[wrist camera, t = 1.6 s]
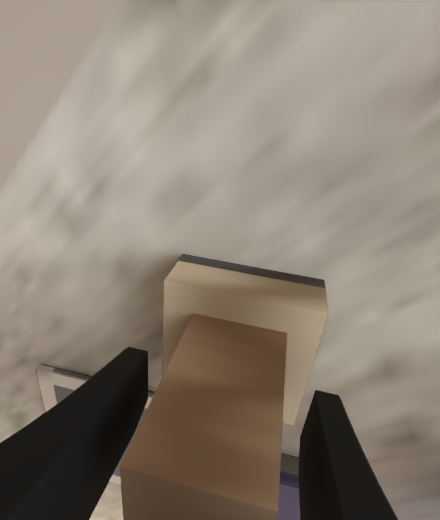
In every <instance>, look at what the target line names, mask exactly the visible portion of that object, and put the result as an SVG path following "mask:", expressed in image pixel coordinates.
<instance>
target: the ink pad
mask: <svg viewBox="0 0 440 520" xmlns="http://www.w3.org/2000/svg"><path fill="white" fill-rule="evenodd" d="M298 473H299V458H296V457H292V456H288V455H284V454H281V464H280V484H279V503H278V514H277V517H276V520H300V500H299V479H298Z"/></svg>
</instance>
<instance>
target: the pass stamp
mask: <svg viewBox="0 0 440 520" xmlns="http://www.w3.org/2000/svg"><path fill="white" fill-rule="evenodd" d="M327 316H328V306H327V298H326V291H325V283H324V280H321V279H315V278H310V277H305V276H299V275H294V274H288V273H283V272H277V271H272V270H267V269H261V268H256V267H250V266H245V265H240V264H234V263H229V262H223V261H218V260H212V259H207V258H202V257H196V256H191V255H185V254H183V255H182V256H181V258H180V259H179V260H178V262H177V263H176V265H175V266H174V267H173V269H172V270H171V272H170V273H169V274H168V276H167V277H166V279H165V280H164V307H163V358H162V379H161V381H160V383H159V385H158V388H157V390H156V392H155V394H154V396H153V398H152V400H151V402H150V404H149V406H148V408H147V410H146V413H145V415H144V417H143V419H142V421H141V423H140V425H139V427H138V429H137V431H136V433H135V435H134V438H133V440H132V442H131V444H130V446H129V448H128V450H127V452H126V454H125V456H124V458H123V460H122V463H121V465H120V478H121V491H122V504H123V517H124V520H276V517H277V514H278V503H279V484H280V464H281V445H282V425H283V423H286V424H290V425H294V424H295V421H296V418H297V415H298V411H299V408H300V405H301V402H302V398H303V395H304V392H305V388H306V385H307V382H308V379H309V375H310V372H311V369H312V365H313V362H314V359H315V356H316V352H317V349H318V346H319V343H320V339H321V336H322V333H323V329H324V326H325V323H326V320H327Z"/></svg>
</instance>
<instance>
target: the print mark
mask: <svg viewBox="0 0 440 520" xmlns="http://www.w3.org/2000/svg"><path fill="white" fill-rule="evenodd" d="M36 372H37V376H38V381H39V385H40V390H41V394H42V399H43V403H44V407H45V412H47V411H48V410H49V409H51V408H52V407H54V406H55V405H56V404H58V403H59V402H60V401H62V400H63V399H64V398H66V397H67V396H68V395H70V394H71V393H72V392H73V391H75V390H76V389H77V388H79V387H80V386H81V385H82V384H84V383H85V382H86V381H87V380H89V379H90V378H91V377H89V376H85V375H81V374H77V373H73V372H69V371H65V370H61V369H57V368H53V367H49V366H45V365H41V364H40V365H39V366H38V367H37V368H36ZM154 394H155V393H154V392H150V391H148V400H147V403H146V405H145V408H144V411H143V413H142V416H141V418H140V421H139V423H138V426H137V428H136V430H135V433H136V431H137V429H138V427H139V425H140V423H141V421H142V419H143V417H144V415H145V413H146V410H147V408H148V406H149V404H150V402H151V400H152V398H153V396H154ZM135 433H134V435H135ZM134 435H133V437H132V439H131V441H130V442H129V444H128V446H127V448H126V450H125V452H124V454H123V456H122V458H121V460H120V461H119V463H118V465H117V467H116V469H115V471H114V473H113V475H112V477H111V478H110V480H109V482H112V483H115V484H119V485H121V478H120V465H121V463H122V460H123V458H124V456H125V454H126V452H127V450H128V448H129V446H130V444H131V442H132V440H133V438H134Z"/></svg>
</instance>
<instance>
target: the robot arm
mask: <svg viewBox="0 0 440 520" xmlns="http://www.w3.org/2000/svg"><path fill="white" fill-rule="evenodd" d="M147 400H148V351H144V350H140V349H135V348H131V347H128V348H126V349H125V350H124V351H123V352H121V353H120V354H119V355H118V356H117V357H115V358H114V359H113V360H112V361H111V362H109V363H108V364H107V365H106V366H105V367H103V368H102V369H101V370H100V371H99V372H97V373H96V374H95V375H94V376H92V377H91V378H90V379H89V380H87V381H86V382H85V383H84V384H82V385H81V386H80V387H79V388H77V389H76V390H75V391H73V392H72V393H71V394H70V395H68V396H67V397H66V398H64V399H63V400H62V401H60V402H59V403H58V404H56V405H55V406H54V407H52V408H51V409H49V410H48V411H47V412H45V413H44V414H42V415H41V416H40V417H38V418H37V419H35V420H34V421H33V422H31V423H30V424H28V425H27V426H25V427H24V428H22V429H21V430H19V431H18V432H17V433H15V434H13V435H12V436H10V437H9V438H7V439H6V440H4V441H3V442H1V443H0V520H89V519H90V517H91V515H92V512H93V511H94V509H95V507H96V505H97V503H98V501H99V499H100V497H101V495H102V494H103V492H104V490H105V488H106V486H107V484H108V482H109V480H110V478H111V477H112V475H113V473H114V471H115V469H116V467H117V465H118V463H119V461H120V460H121V458H122V456H123V454H124V452H125V450H126V448H127V446H128V444H129V442H130V441H131V439H132V437H133V435H134V433H135V430H136V428H137V426H138V423H139V421H140V418H141V416H142V413H143V411H144V408H145V405H146V403H147ZM298 479H299V500H300V520H398V518H397V517H396V515H395V513H394V511H393V509H392V507H391V506H390V504H389V502H388V500H387V498H386V496H385V494H384V492H383V490H382V488H381V486H380V484H379V482H378V480H377V478H376V476H375V474H374V472H373V470H372V468H371V466H370V464H369V462H368V460H367V458H366V456H365V454H364V452H363V450H362V447H361V445H360V443H359V441H358V439H357V436H356V434H355V432H354V430H353V427H352V425H351V423H350V420H349V418H348V416H347V413H346V411H345V408H344V406H343V403H342V401H341V399H340V397H339V396H338V395H335V394H330V393H326V392H322V391H317V390H315V393H314V396H313V400H312V403H311V406H310V409H309V412H308V415H307V418H306V421H305V424H304V427H303V430H302V433H301V436H300V452H299V473H298Z"/></svg>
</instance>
